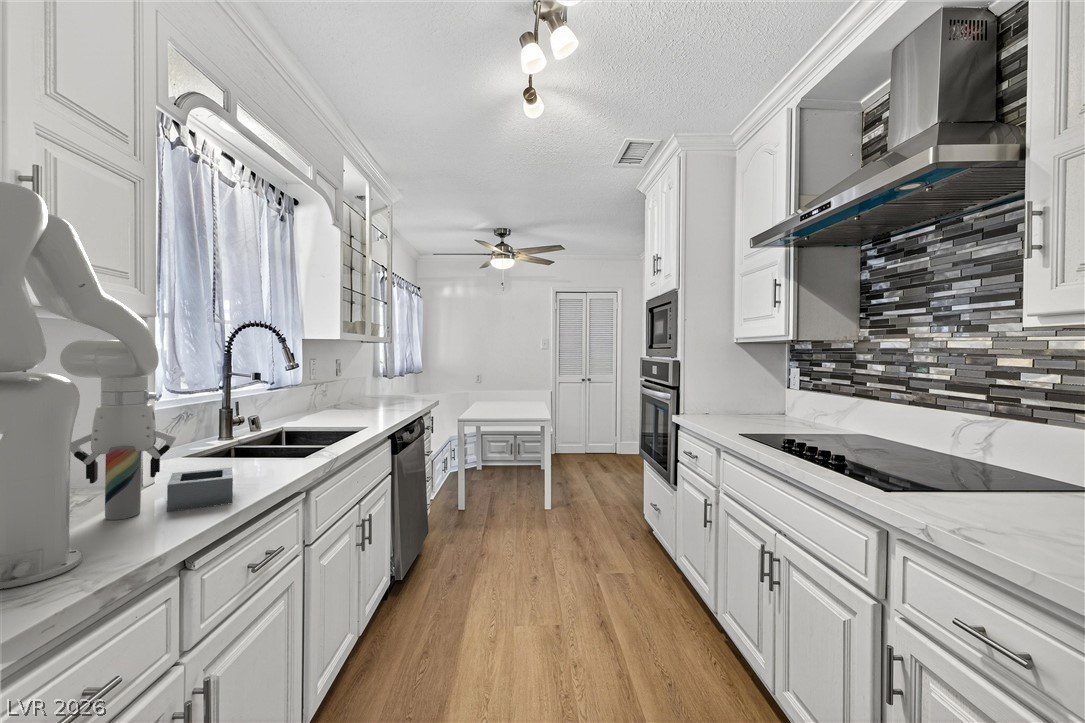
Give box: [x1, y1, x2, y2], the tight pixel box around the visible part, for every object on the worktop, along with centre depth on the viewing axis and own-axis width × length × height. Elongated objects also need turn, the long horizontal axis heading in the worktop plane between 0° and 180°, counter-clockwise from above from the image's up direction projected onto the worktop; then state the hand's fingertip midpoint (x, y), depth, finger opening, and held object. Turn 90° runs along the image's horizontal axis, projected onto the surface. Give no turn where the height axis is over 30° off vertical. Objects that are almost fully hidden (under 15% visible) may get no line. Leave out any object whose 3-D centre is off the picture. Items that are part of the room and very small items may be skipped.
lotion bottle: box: [104, 446, 142, 521], centre depth 100 cm, size 6×6×20 cm
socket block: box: [166, 467, 234, 513], centre depth 112 cm, size 12×12×6 cm
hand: (124, 478), depth 101 cm, fingers open, 9 cm apart
